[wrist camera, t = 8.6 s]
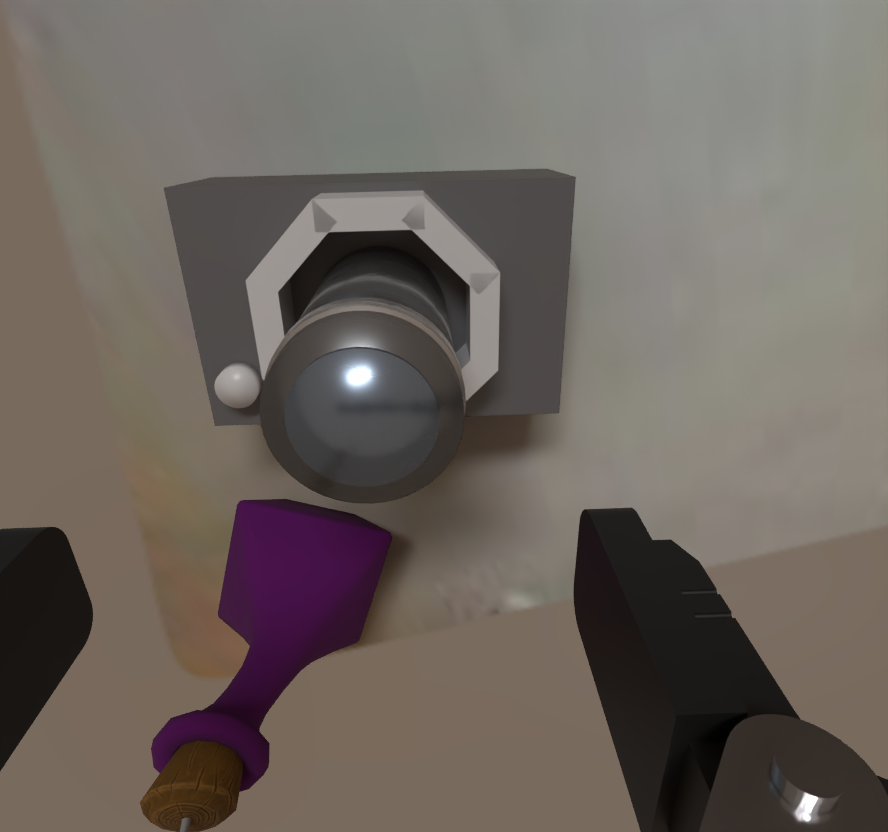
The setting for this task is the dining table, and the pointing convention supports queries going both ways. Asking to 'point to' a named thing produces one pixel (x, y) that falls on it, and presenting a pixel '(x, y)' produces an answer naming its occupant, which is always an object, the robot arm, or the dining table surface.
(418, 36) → the dining table surface
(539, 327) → the camera body
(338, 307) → the lens
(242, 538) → the perfume bottle
